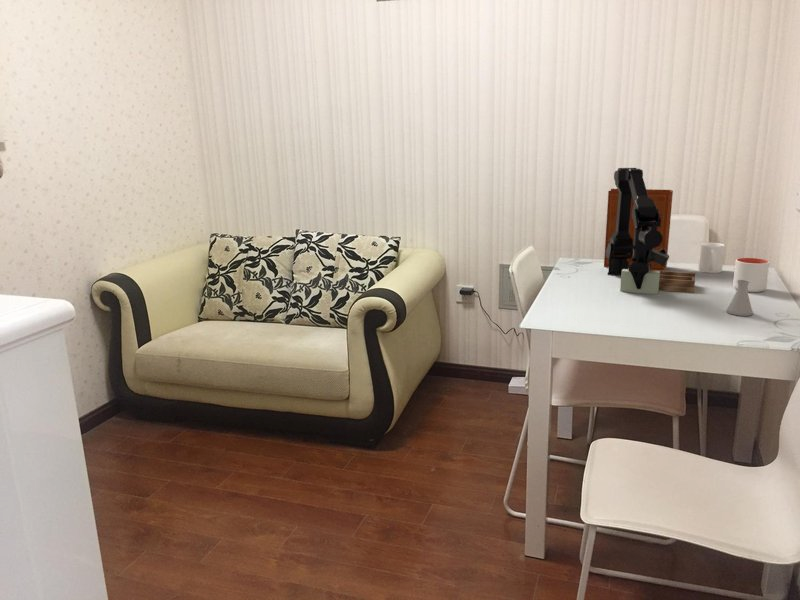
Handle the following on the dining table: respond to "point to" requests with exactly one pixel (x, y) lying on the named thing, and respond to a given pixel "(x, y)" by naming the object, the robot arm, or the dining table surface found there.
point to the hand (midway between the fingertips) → (639, 287)
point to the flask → (741, 300)
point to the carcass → (676, 281)
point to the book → (664, 207)
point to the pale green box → (648, 284)
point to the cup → (751, 273)
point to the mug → (711, 257)
